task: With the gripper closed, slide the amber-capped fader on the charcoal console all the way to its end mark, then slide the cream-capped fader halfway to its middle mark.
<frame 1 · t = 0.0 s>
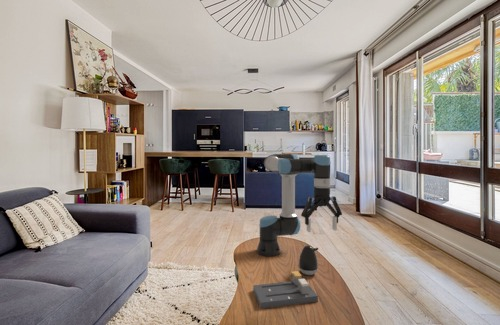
hand: (321, 230, 129), 28 cm above the table, fingers open, 13 cm apart
console: (284, 295, 122), on the table
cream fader: (303, 286, 120), point 5 cm above the table, slide at 0.0 cm
amber fader: (296, 278, 128), point 5 cm above the table, slide at 0.0 cm
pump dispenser: (308, 273, 145), on the table
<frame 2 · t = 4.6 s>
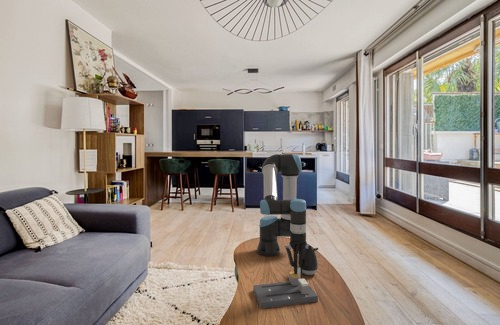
hand: (298, 279, 129), 4 cm above the table, fingers closed
amber fader: (293, 278, 128), point 5 cm above the table, slide at 1.6 cm, touching gripper
everything else where it was.
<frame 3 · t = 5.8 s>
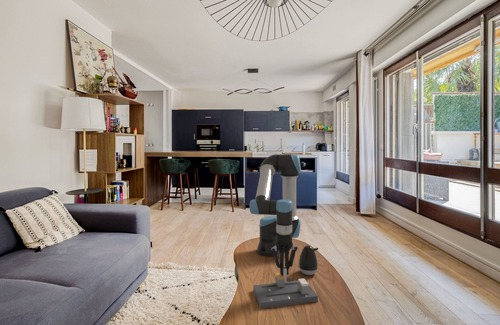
hand: (284, 281, 127), 4 cm above the table, fingers closed
amber fader: (279, 279, 127), point 5 cm above the table, slide at 8.6 cm, touching gripper
everything else where it was.
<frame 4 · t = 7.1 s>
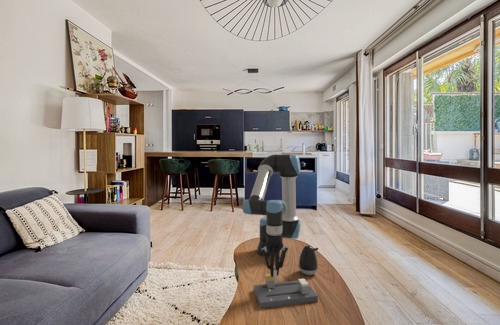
hand: (274, 282, 126), 4 cm above the table, fingers closed
amber fader: (269, 280, 126), point 5 cm above the table, slide at 13.4 cm, touching gripper
everything else where it was.
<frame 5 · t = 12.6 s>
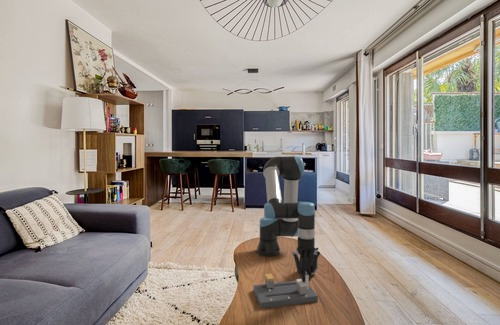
hand: (305, 287, 121), 4 cm above the table, fingers closed
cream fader: (301, 286, 120), point 5 cm above the table, slide at 0.9 cm, touching gripper
amber fader: (269, 280, 126), point 5 cm above the table, slide at 13.7 cm
everything else where it was.
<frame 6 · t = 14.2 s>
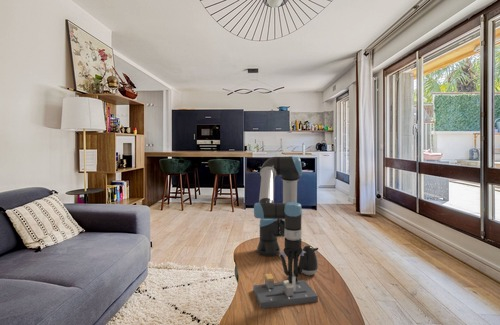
hand: (292, 289, 120), 4 cm above the table, fingers closed
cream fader: (288, 287, 119), point 5 cm above the table, slide at 7.2 cm, touching gripper
everything else where it was.
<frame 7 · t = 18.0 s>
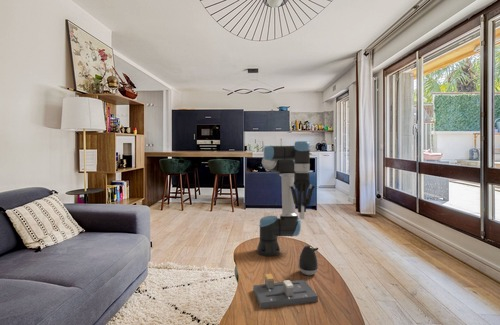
hand: (301, 218, 134), 32 cm above the table, fingers closed
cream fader: (288, 287, 119), point 5 cm above the table, slide at 7.2 cm
everything else where it was.
at the end: amber fader slide at 13.7 cm; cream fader slide at 7.2 cm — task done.
